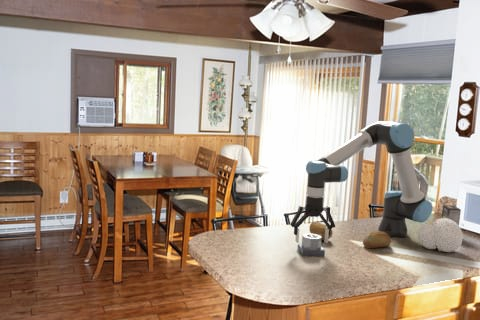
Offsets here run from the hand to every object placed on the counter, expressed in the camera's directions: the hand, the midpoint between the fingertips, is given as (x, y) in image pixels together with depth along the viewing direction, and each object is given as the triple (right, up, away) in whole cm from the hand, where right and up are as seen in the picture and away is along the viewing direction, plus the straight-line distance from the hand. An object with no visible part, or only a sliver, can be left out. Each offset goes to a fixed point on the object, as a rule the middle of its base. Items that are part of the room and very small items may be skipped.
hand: (311, 242), depth 214 cm
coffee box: (+80, -4, +42) cm, 90 cm away
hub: (0, -2, 0) cm, 2 cm away
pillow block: (0, -5, +1) cm, 5 cm away
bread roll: (+34, -5, +16) cm, 38 cm away
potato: (+8, -3, +23) cm, 24 cm away
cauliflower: (+64, -7, +15) cm, 66 cm away
